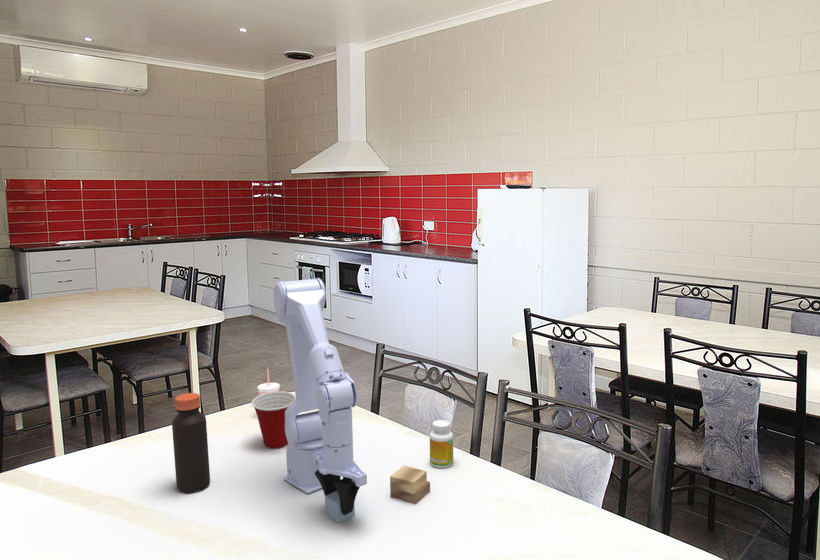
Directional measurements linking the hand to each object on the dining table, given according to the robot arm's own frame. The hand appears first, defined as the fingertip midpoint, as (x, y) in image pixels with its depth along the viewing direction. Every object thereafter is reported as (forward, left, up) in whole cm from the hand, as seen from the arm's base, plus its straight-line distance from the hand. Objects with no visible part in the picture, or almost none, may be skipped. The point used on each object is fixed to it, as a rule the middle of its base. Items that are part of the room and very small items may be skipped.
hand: (340, 508), depth 113 cm
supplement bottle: (-1, +30, -2) cm, 30 cm away
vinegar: (-32, -15, -2) cm, 35 cm away
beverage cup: (-56, +18, -2) cm, 59 cm away
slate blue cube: (0, 0, -1) cm, 1 cm away
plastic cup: (-38, +9, -2) cm, 39 cm away
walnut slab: (+4, +15, -2) cm, 16 cm away
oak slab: (+4, +15, +1) cm, 15 cm away
